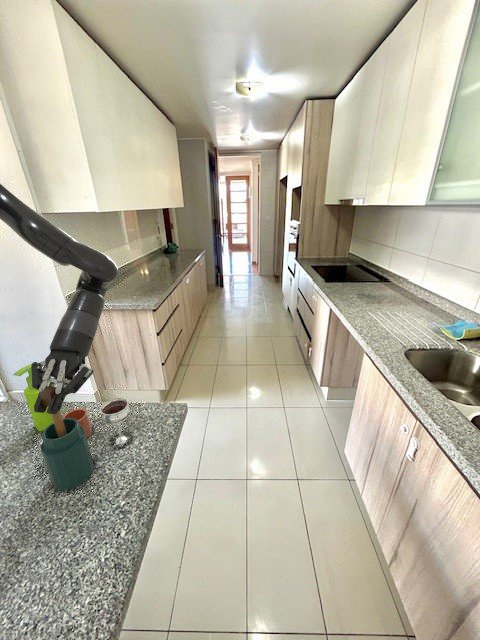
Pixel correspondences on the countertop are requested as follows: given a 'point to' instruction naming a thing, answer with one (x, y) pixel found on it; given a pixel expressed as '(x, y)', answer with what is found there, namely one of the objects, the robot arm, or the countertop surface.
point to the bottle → (67, 455)
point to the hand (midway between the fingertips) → (45, 412)
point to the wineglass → (115, 414)
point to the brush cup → (80, 419)
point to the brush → (57, 418)
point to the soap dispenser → (31, 396)
